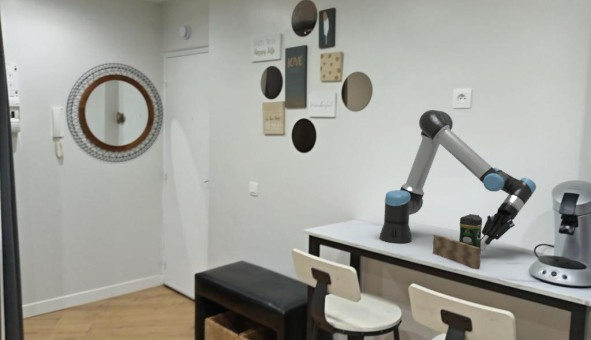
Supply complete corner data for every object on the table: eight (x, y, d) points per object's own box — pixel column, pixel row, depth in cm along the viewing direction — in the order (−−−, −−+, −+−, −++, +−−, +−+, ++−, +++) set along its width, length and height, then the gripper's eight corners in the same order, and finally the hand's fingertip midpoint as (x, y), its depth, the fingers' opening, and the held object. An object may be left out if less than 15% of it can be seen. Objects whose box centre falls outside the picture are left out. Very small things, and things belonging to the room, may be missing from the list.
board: (432, 253, 197) (433, 235, 196) (436, 252, 198) (437, 234, 197) (475, 269, 175) (477, 248, 175) (479, 268, 176) (481, 248, 175)
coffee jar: (463, 254, 196) (466, 212, 194) (482, 258, 191) (485, 214, 189) (454, 259, 189) (457, 214, 187) (474, 263, 184) (477, 217, 182)
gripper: (527, 216, 193) (496, 258, 187) (501, 211, 204) (471, 250, 199) (519, 204, 190) (488, 247, 184) (494, 199, 202) (463, 239, 196)
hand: (479, 248), depth 191 cm, fingers closed
